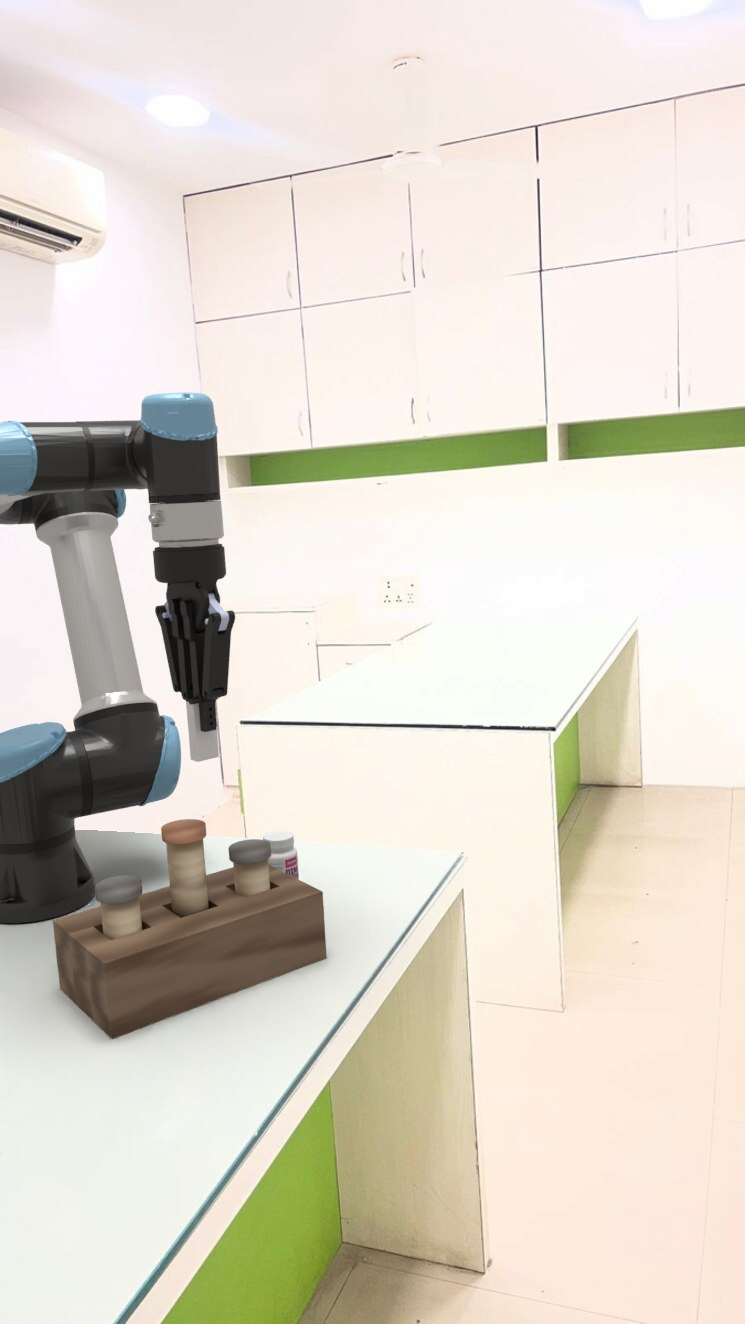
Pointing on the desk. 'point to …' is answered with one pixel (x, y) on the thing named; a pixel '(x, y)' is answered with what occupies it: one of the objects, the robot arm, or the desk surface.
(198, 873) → the plug middle
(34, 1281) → the desk surface
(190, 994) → the socket board
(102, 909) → the plug
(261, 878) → the plug
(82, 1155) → the desk surface
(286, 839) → the pill bottle
